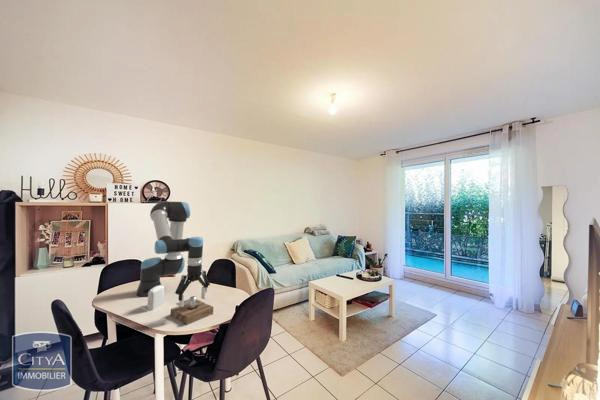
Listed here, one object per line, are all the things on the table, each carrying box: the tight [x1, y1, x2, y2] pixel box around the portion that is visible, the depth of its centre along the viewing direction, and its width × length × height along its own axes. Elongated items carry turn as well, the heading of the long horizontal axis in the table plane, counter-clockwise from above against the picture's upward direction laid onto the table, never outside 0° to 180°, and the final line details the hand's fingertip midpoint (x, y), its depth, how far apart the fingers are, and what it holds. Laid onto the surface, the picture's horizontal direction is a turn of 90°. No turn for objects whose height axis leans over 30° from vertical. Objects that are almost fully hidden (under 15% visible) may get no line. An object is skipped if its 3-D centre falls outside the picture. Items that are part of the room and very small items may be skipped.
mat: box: [175, 298, 205, 306], centre depth 148 cm, size 12×12×1 cm
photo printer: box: [146, 284, 165, 311], centre depth 142 cm, size 10×4×12 cm, turn 172°
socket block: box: [169, 299, 214, 325], centre depth 133 cm, size 16×16×4 cm
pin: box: [189, 295, 197, 310], centre depth 133 cm, size 3×3×10 cm
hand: (192, 302), depth 134 cm, fingers open, 13 cm apart
